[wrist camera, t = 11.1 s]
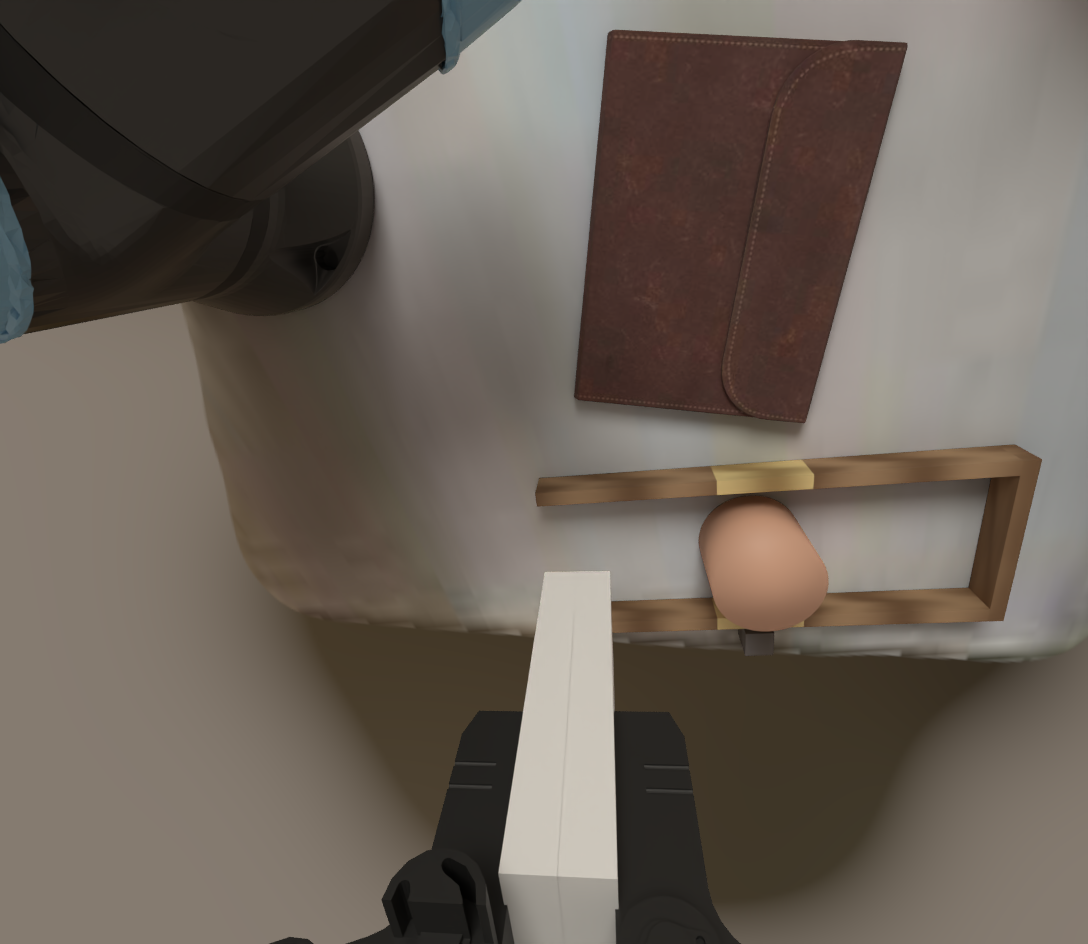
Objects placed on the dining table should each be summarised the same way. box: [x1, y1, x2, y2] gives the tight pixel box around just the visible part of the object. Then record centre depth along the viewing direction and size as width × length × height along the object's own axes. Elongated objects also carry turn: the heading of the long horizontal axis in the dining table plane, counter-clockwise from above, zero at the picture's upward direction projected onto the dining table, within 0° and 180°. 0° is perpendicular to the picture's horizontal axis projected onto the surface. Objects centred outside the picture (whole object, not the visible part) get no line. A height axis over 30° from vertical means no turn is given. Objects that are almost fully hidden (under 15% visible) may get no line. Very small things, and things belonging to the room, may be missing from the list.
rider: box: [699, 495, 828, 631], centre depth 38 cm, size 7×7×6 cm
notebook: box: [574, 30, 907, 423], centre depth 33 cm, size 15×20×2 cm
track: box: [535, 445, 1042, 656], centre depth 40 cm, size 31×14×2 cm, turn 97°
